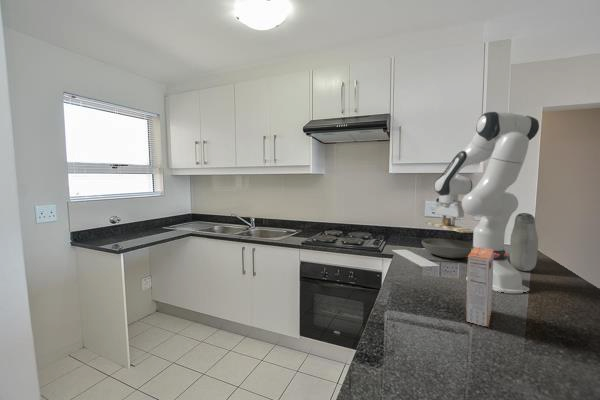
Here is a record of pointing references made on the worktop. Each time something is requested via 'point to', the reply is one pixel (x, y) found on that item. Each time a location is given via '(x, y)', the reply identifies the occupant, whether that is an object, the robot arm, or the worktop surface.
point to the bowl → (448, 248)
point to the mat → (415, 258)
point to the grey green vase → (524, 243)
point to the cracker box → (479, 286)
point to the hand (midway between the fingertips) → (448, 223)
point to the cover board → (450, 226)
